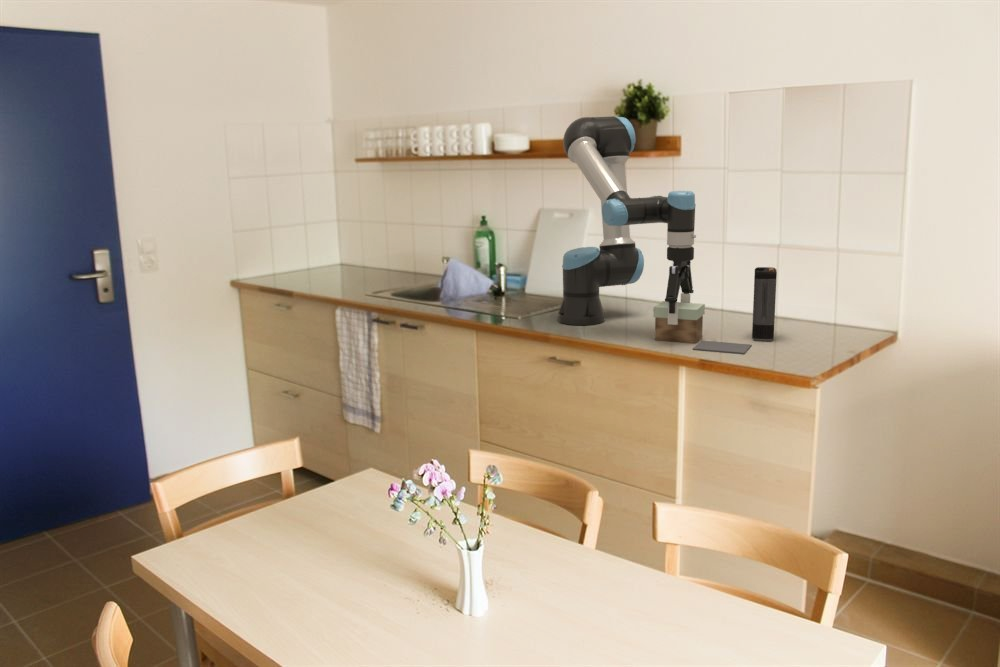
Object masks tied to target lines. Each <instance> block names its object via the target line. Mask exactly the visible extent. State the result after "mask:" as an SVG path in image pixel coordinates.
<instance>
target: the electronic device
mask: <svg viewBox="0 0 1000 667" xmlns="http://www.w3.org/2000/svg"><path fill="white" fill-rule="evenodd" d="M777 270H778V269H776V268H775V267H770V266H769V267H768V266H766V267H764V266H762V267H761V266H760V267H759V266H758V267H755V268H754V279H753V280H754V281H753V282H754V284H753V302H752V303H753V307H752V308H753V309H752V330H751V331H752V332H751V339H752V340H753V341H755V342H772V341H773V340H774V339H775V318H776V316H775V315H776V298H777V273H778V272H777Z"/></svg>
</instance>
